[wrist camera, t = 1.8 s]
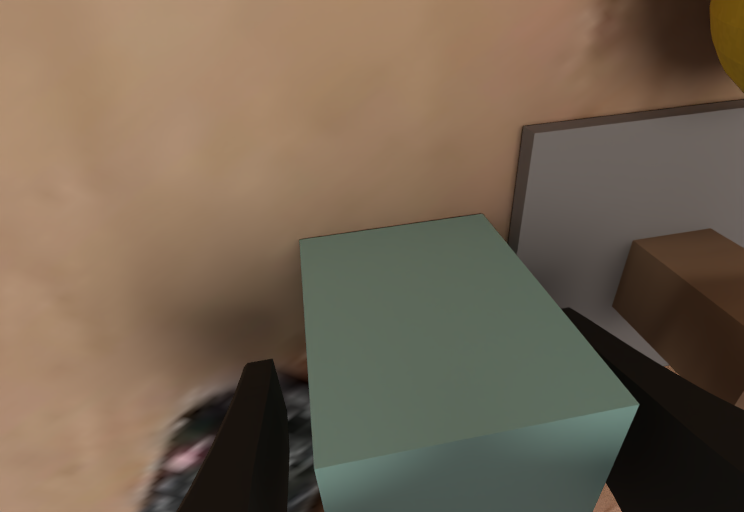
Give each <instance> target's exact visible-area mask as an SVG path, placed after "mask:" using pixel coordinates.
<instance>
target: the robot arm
mask: <svg viewBox="0 0 744 512" xmlns="http://www.w3.org/2000/svg"><path fill="white" fill-rule="evenodd" d="M561 310H562V311H563V312H564V313H565V314H566V316H567V317H568V318H569V319H570V321H571V322H572V323H573V324H574V325H575V327H576V328H577V329H578V330H579V331H580V333H581V334H582V335H583V336H584V338H585V339H586V340H587V341H588V342H589V344H590V345H591V346H592V347H593V348H594V350H595V351H596V352H597V353H598V355H599V356H600V357H601V358H602V359H603V361H604V362H605V363H606V364H607V365H608V367H609V368H610V369H611V370H612V371H613V373H614V374H615V375H616V376H617V378H618V379H619V380H620V381H621V382H622V384H623V385H624V386H625V387H626V388H627V390H628V391H629V392H630V393H631V395H632V396H633V397H634V398H635V399H636V401H637V402H638V403H639V407H638V409H637V411H636V414H635V416H634V418H633V421H632V423H631V425H630V427H629V430H628V432H627V434H626V437H625V439H624V441H623V443H622V446H621V448H620V450H619V453H618V455H617V457H616V459H615V462H614V464H613V466H612V469H611V471H610V473H609V475H608V478H607V480H606V484H607V485H608V487H609V489H610V490H611V492H612V494H613V495H614V497H615V499H616V501H617V503H618V505H619V507H620V509H621V511H622V512H744V410H743V409H741V408H739V407H737V406H735V405H733V404H731V403H729V402H727V401H725V400H723V399H721V398H719V397H717V396H715V395H713V394H711V393H709V392H707V391H706V390H704V389H702V388H700V387H698V386H697V385H695V384H693V383H691V382H690V381H688V380H686V379H684V378H682V377H681V376H679V375H677V374H675V373H674V372H672V371H670V370H669V369H667V368H665V367H664V366H662V365H660V364H659V363H657V362H655V361H654V360H652V359H650V358H649V357H647V356H645V355H644V354H642V353H641V352H639V351H637V350H636V349H634V348H633V347H631V346H630V345H628V344H626V343H625V342H623V341H622V340H620V339H619V338H617V337H616V336H614V335H612V334H611V333H609V332H608V331H606V330H605V329H603V328H602V327H600V326H599V325H597V324H595V323H594V322H592V321H591V320H589V319H588V318H586V317H585V316H583V315H581V314H580V313H578V312H577V311H575V310H573V309H572V308H570V307H567V308H561ZM288 477H289V434H288V419H287V409H286V406H285V402H284V398H283V395H282V391H281V387H280V384H279V380H278V376H277V373H276V369H275V365H274V362H273V359H268V360H262V361H257V362H251V363H247V364H246V365H245V367H244V369H243V372H242V375H241V378H240V380H239V383H238V386H237V388H236V391H235V394H234V396H233V399H232V401H231V404H230V406H229V408H228V411H227V413H226V415H225V418H224V420H223V422H222V424H221V426H220V429H219V431H218V433H217V435H216V437H215V440H214V442H213V444H212V446H211V448H210V450H209V452H208V454H207V456H206V458H205V460H204V462H203V464H202V466H201V468H200V469H199V471H198V473H197V475H196V477H195V479H194V481H193V483H192V485H191V487H190V488H189V490H188V492H187V494H186V496H185V497H184V499H183V501H182V503H181V504H180V506H179V508H178V510H177V511H176V512H287V499H288Z"/></svg>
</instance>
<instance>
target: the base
mask: <svg viewBox="0 0 744 512" xmlns="http://www.w3.org/2000/svg"><path fill="white" fill-rule="evenodd" d="M709 228H711V229H713V230H714V231H716V232H718V233H719V234H721V235H723V236H724V237H726V238H728V239H729V240H731V241H733V242H734V243H736V244H738V245H739V246H741V247H743V248H744V100H736V101H728V102H719V103H711V104H703V105H695V106H686V107H678V108H670V109H662V110H653V111H645V112H637V113H629V114H620V115H612V116H604V117H596V118H587V119H579V120H571V121H563V122H554V123H546V124H538V125H530V126H523V134H522V142H521V149H520V157H519V164H518V172H517V180H516V187H515V195H514V202H513V210H512V218H511V225H510V233H509V240H508V245H509V247H510V248H511V249H512V250H513V251H514V253H515V254H516V255H517V256H518V257H519V259H520V260H521V261H522V262H523V264H524V265H525V266H526V267H527V268H528V270H529V271H530V272H531V273H532V274H533V276H534V277H535V278H536V279H537V281H538V282H539V283H540V284H541V285H542V287H543V288H544V289H545V290H546V291H547V293H548V294H549V295H550V296H551V298H552V299H553V300H554V301H555V302H556V304H557V305H558V306H559V307H560V308H567V307H570V308H572V309H573V310H575V311H577V312H578V313H580V314H581V315H583V316H585V317H586V318H588V319H589V320H591V321H592V322H594V323H595V324H597V325H599V326H600V327H602V328H603V329H605V330H606V331H608V332H609V333H611V334H612V335H614V336H616V337H617V338H619V339H620V340H622V341H623V342H625V343H626V344H628V345H630V346H631V347H633V348H634V349H636V350H637V351H639V352H641V353H642V354H644V355H645V356H647V357H649V358H650V359H652V360H654V361H655V362H657V363H659V364H660V365H662V366H667V365H669V364H668V363H667V362H666V361H665V360H664V359H663V358H662V357H661V356H660V355H659V354H658V353H657V352H656V351H655V350H654V349H653V348H652V347H651V346H650V345H649V344H648V343H647V342H646V341H645V340H644V339H643V338H642V337H641V336H640V335H639V334H638V332H637V331H636V330H635V329H634V328H633V327H632V326H631V325H630V324H629V323H628V322H627V321H626V320H625V319H624V318H623V317H622V316H621V315H620V314H619V313H618V312H617V311H616V310H615V309H614V308H613V307H612V304H613V301H614V298H615V295H616V292H617V289H618V285H619V282H620V279H621V276H622V273H623V270H624V267H625V263H626V260H627V257H628V254H629V251H630V248H631V245H632V242H633V240H638V239H645V238H651V237H657V236H664V235H670V234H677V233H683V232H690V231H696V230H702V229H709Z"/></svg>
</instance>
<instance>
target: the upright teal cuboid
mask: <svg viewBox="0 0 744 512" xmlns="http://www.w3.org/2000/svg"><path fill="white" fill-rule="evenodd" d="M299 242H300V258H301V273H302V288H303V304H304V319H305V334H306V350H307V365H308V381H309V396H310V411H311V427H312V442H313V457H314V470H315V474H316V478H317V482H318V486H319V491H320V495H321V499H322V503H323V507H324V511H325V512H593V510H594V508H595V505H596V503H597V501H598V498H599V496H600V494H601V491H602V489H603V487H604V485H605V482H606V480H607V478H608V475H609V473H610V471H611V469H612V466H613V464H614V462H615V459H616V457H617V455H618V453H619V450H620V448H621V446H622V443H623V441H624V439H625V437H626V434H627V432H628V430H629V427H630V425H631V423H632V421H633V418H634V416H635V414H636V411H637V409H638V407H639V403H638V402H637V401H636V399H635V398H634V397H633V396H632V395H631V393H630V392H629V391H628V390H627V388H626V387H625V386H624V385H623V384H622V382H621V381H620V380H619V379H618V378H617V376H616V375H615V374H614V373H613V371H612V370H611V369H610V368H609V367H608V365H607V364H606V363H605V362H604V361H603V359H602V358H601V357H600V356H599V355H598V353H597V352H596V351H595V350H594V348H593V347H592V346H591V345H590V344H589V342H588V341H587V340H586V339H585V338H584V336H583V335H582V334H581V333H580V331H579V330H578V329H577V328H576V327H575V325H574V324H573V323H572V322H571V321H570V319H569V318H568V317H567V316H566V314H565V313H564V312H563V311H562V310H561V308H560V307H559V306H558V305H557V304H556V302H555V301H554V300H553V299H552V298H551V296H550V295H549V294H548V293H547V291H546V290H545V289H544V288H543V287H542V285H541V284H540V283H539V282H538V281H537V279H536V278H535V277H534V276H533V274H532V273H531V272H530V271H529V270H528V268H527V267H526V266H525V265H524V264H523V262H522V261H521V260H520V259H519V257H518V256H517V255H516V254H515V253H514V251H513V250H512V249H511V248H510V247H509V245H508V244H507V243H506V242H505V240H504V239H503V238H502V237H501V236H500V234H499V233H498V232H497V231H496V230H495V228H494V227H493V226H492V225H491V224H490V222H489V221H488V220H487V219H486V217H485V216H484V215H483V214H477V215H470V216H463V217H456V218H449V219H442V220H435V221H428V222H421V223H414V224H407V225H400V226H393V227H386V228H379V229H372V230H365V231H358V232H351V233H344V234H337V235H330V236H323V237H316V238H309V239H302V240H299Z"/></svg>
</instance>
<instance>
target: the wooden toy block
mask: <svg viewBox="0 0 744 512" xmlns="http://www.w3.org/2000/svg"><path fill="white" fill-rule="evenodd" d="M612 307H613V308H614V309H615V310H616V311H617V312H618V313H619V314H620V315H621V316H622V317H623V318H624V319H625V320H626V321H627V322H628V323H629V324H630V325H631V326H632V327H633V328H634V329H635V330H636V331H637V332H638V334H639V335H640V336H641V337H642V338H643V339H644V340H645V341H646V342H647V343H648V344H649V345H650V346H651V347H652V348H653V349H654V350H655V351H656V352H657V353H658V354H659V355H660V356H661V357H662V358H663V359H664V360H665V361H666V362H667V363H668V364H669V365H670V366H671V367H672V368H673V369H674V370H675V371H676V372H677V373H678V374H679V375H680V376H681V377H682V378H684V379H686V380H688V381H690V382H691V383H693V384H695V385H697V386H698V387H700V388H702V389H704V390H706V391H707V392H709V393H711V394H713V395H715V396H717V397H719V398H721V399H723V400H725V401H727V402H729V403H731V404H733V405H735V406H737V407H739V408H741V409H743V410H744V248H743V247H741V246H739V245H738V244H736V243H734V242H733V241H731V240H729V239H728V238H726V237H724V236H723V235H721V234H719V233H718V232H716V231H714V230H713V229H711V228H709V229H702V230H696V231H690V232H683V233H677V234H670V235H664V236H657V237H651V238H645V239H638V240H633V242H632V245H631V248H630V251H629V254H628V257H627V260H626V263H625V267H624V270H623V273H622V276H621V279H620V282H619V285H618V289H617V292H616V295H615V298H614V301H613V304H612Z"/></svg>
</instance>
